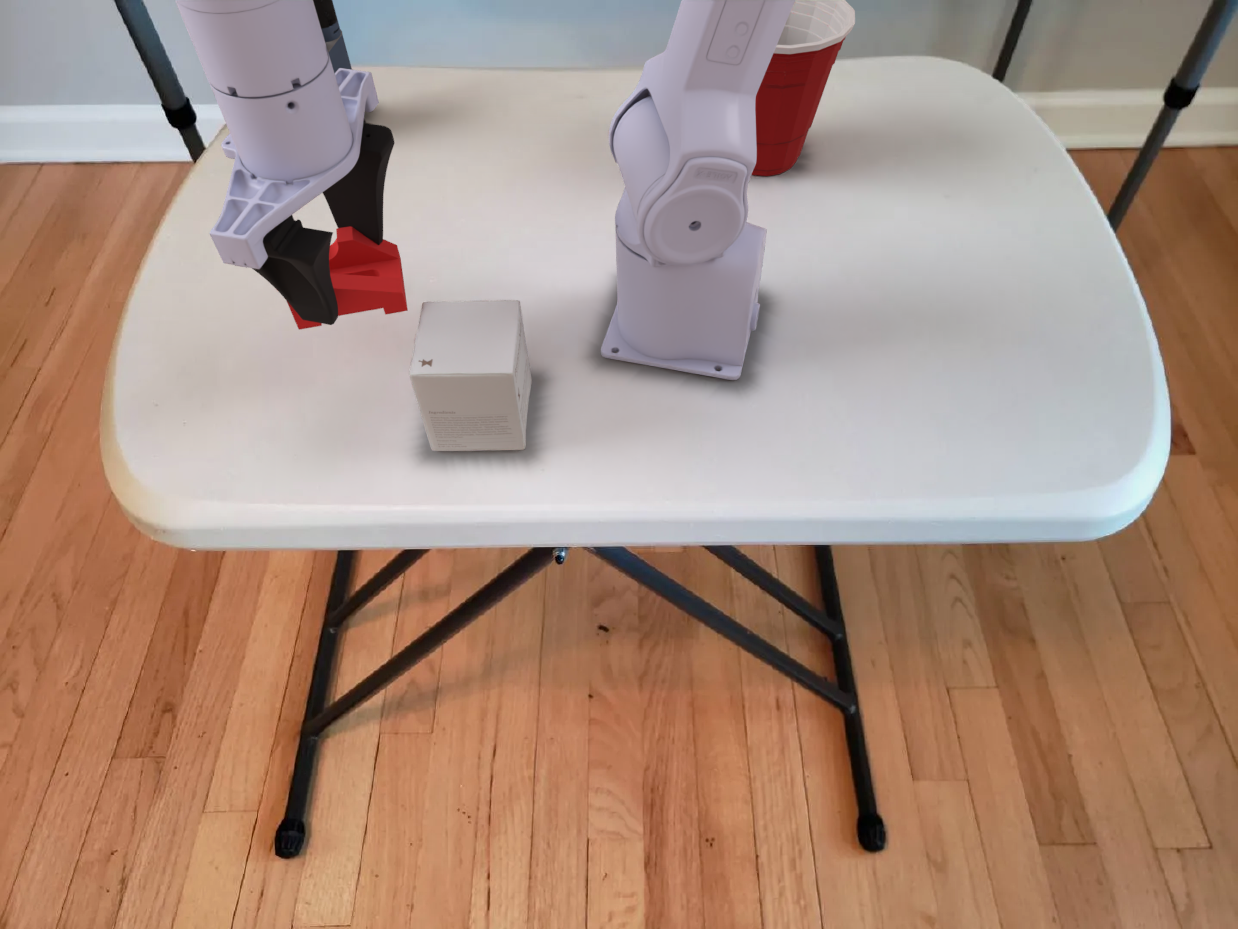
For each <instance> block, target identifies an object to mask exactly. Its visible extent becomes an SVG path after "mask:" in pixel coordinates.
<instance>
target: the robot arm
mask: <svg viewBox="0 0 1238 929" xmlns="http://www.w3.org/2000/svg"><path fill="white" fill-rule="evenodd" d="M174 2H175V5H176V7H177V9H178V12H179V15H180V16H181V20H182V21H183V24H184V26H185V28H186V31H187V33H188V35H189V39H190V40H191V43H192V45H193V48H194V50H195V53H196V55H197V57H198V60H199V63H200V65H201V66H202V70H203V72H204V74H205V77H206V80H207V81H208V84H209V86H210V89H211V91H212V93H213V96H214V98H215V101H216V103H217V105H218V108H219V110H220V112H221V115H222V117H223V119H224V122H225V125H226V127H227V129H228V132H229V133H228V134H227V135H226V137H225V138H224V139H223V140H222V141H221V144H220V147H221V149H222V151H223V153H224V155H225V157H226V158H229V159H231V160H234V161H233V165H232V169H231V173H230V177H229V181H228V185H227V189H226V193H225V198H224V201H223V206H222V209H221V212H220V214H219V216H218V219H217V220H216V222H215V224H214V226H213V227H212V228H211V229H210V231H209V233H208V234H209V236H210V238H211V240H212V242H213V244H214V246H215V248H216V251H217V253H218V255H219V258H220V259H221V260H222V263H223V264H225V265H226V264H227V265H232V266H234V267H241V268H246V269H248V268H249V269H252V270H253V271H255V272H256V273H257V274H259V275H260V276H261V277H262V278H264V279H265V280H266V281H267V282H268V283H269V284H270V285H272V287H274V289H275V290H276V291H277V292H278V293H279V294H280V295H281V296H282V297H283V299H284V300H285V301H286V300H287V301H288V303H289V304H290V305H291V306H292V307H293V309H294V310H295V311H296V312H297V313H298V315H299V316H300V317H301V318H302V320H306V321H312V322H317V323H322V325H329V326H332V325H334V324H335V323H336V321H337V319H338V318H339V316H338V304H337V300H336V296H335V292H334V288H333V284H332V281H331V276H330V267H329V251H330V245H331V244H332V239H333V238H332V237H333V234H334V232H332V231H329V230H328V231H327V230H322V229H315V228H310V227H304V226H303V223H302V221H301V220H300V219H296V220H295V219H294V216H293V215H294V214H295V213H297V212H298V211H299V210H300V209H303V207H304V206H306V205H308V204H309V203H311V201H313V200H314V199H315V198H317V197H319V196H320V195H321V194H322V195H323V196H324V199H325V201H326V203H327V205H328V209H330V213H331V215H332V218H333V219H334V223H335V224H336V227H337V228H343V227H349V226H351V227H353V228H354V229H356V230H357V231H359V232H360V233H361V234H363V235H364V236H366V237H367V238H369V239H370V240H372V241H373V242H375V243H376V244H378V245H380V244H381V243H382V242H383V239H384V192H385V183H386V176H387V170H388V167H389V166H388V165H389V162H390V158H391V156H392V153H393V149H394V146H395V138H394V134H393V131H392V129H390V128H389V127H387V126H385V125H381V124H375V123H369V122H366V119H365V113H371V112H373V111H374V110H375V109H376V108H377V106H378V105H379V104H380V101H379V97H378V93H377V89H376V84H375V81H374V77H373V74H372V72H371V71H366V70H358V69H352V70H351V69H344V68H339V69H338V70H337V71H336V72H335V74H334V70H333V67H332V63H331V60H330V56H329V53H328V51H327V47H326V44H325V40H324V37H323V33H322V30H321V26H320V23H319V20H318V16H317V13H316V9H315V6H314V2H313V0H174ZM794 2H795V0H681V1H680V4H679V7H678V11H677V14H676V17H675V19H674V23H673V26H672V29H671V32H670V36H669V38H668V41H667V45H666V48H665V50H664V51H662V52H661V53H658V54H656V55H654V56H652V57H650V58H649V59H647V60H646V61H645V63H644V65H643V68H642V71H641V75H640V77H639V79H638V83H637V85H636V86H635V88H634V90H633V91H632V92H631V93H630V95H628V97H627V98H626V99H625V100H624V101H623V102H622V103H621V105H620V106H619V107H618V108H617V110H616V111H615V112H614V115H613V116H612V119H611V122H610V124H609V129H608V137H607V138H608V147H609V150H610V153H611V155H612V158H613V160H614V162H615V163H616V164H617V166H618V169H619V173H620V175H621V179H622V182H623V185H624V189H623V192H622V195H621V198H620V199H619V202H618V204H617V206H616V210H615V215H614V226H615V227H614V228H615V231H614V232H615V261H616V264H615V265H616V296H617V297H616V298H617V303H616V305H615V308H614V311H613V313H612V317H611V319H610V322H609V325H608V328H607V330H606V333H605V336H604V339H603V341H602V344H601V347H600V355H601V356H602V357H603V358H605V359H611V360H616V361H621V362H628V363H632V364H633V363H634V364H639V365H644V366H651V367H656V368H662V369H667V370H673V371H679V372H684V373H689V374H695V375H701V376H707V377H711V378H718V379H723V380H730V381H736V380H739V379H740V378H741V375H742V371H743V367H744V362H745V358H746V354H747V350H748V346H749V341H750V337H751V333H752V332H753V331H754V332H755V331H756V329H757V326H758V320H759V315H760V309H761V304H760V303H759V292H760V286H761V278H762V270H763V263H764V256H765V249H766V242H767V228H765V227H762V226H759V225H755V224H752V223H751V222H748V218H749V201H748V200H749V199H748V188H749V187H748V186H749V182H750V180H751V177H752V172H753V169H754V167H755V165H756V159H757V145H756V114H755V99H756V94H757V92H758V89H759V87H760V85H761V82H762V80H763V77H764V75H765V72H766V70H767V68H768V65H769V63H770V60H771V58H772V55H773V53H774V51H775V48H776V46H777V43H778V41H779V39H780V36H781V34H782V31H783V29H784V26H785V24H786V22H787V19H788V17H789V14H790V12H791V9H792V7H793V5H794ZM287 301H286V302H287ZM288 303H287V304H288Z"/></svg>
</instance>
